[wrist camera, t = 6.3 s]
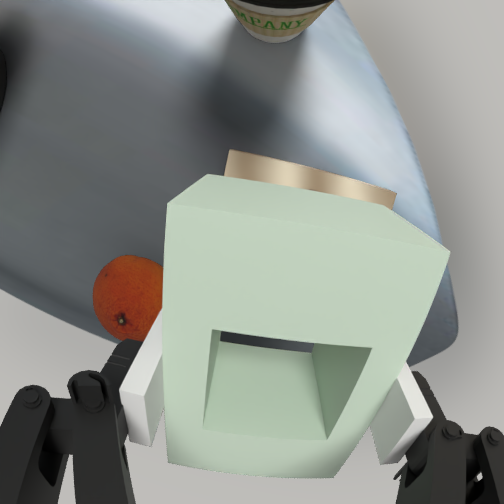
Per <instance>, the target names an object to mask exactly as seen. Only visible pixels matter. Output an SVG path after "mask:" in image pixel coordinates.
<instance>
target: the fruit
mask: <svg viewBox="0 0 504 504" xmlns="http://www.w3.org/2000/svg"><path fill="white" fill-rule="evenodd" d="M163 269H164V268H163V267H162V266H161V265H159V264H158V263H156V262H153V261H151V260H149V259H147V258H143V257H137V256H133V255H125V256H120V257H117V258H116V259H114V260H113V261H111V262H110V263H108V264H107V265H106V266H105V267H104V268H103V269H102V270H101V272H100V273H99V275H98V276H97V278H96V280H95V283H94V287H93V306H94V310H95V313H96V315H97V317H98V319H99V321H100V323H101V324H102V326H103V327H104V328H105V329H106V330H107V331H108V332H109V333H110V334H111V335H113V336H114V337H116V338H118V339H119V340H122V341H124V340H125V339H127V338H128V339H133V340H137V341H144V340H145V339H146V337H147V335H148V333H149V331H150V329H151V327H152V325H153V324H154V322H155V320H156V318H157V316H158V314H159V313H160V311H161V309H162V303H163Z"/></svg>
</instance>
